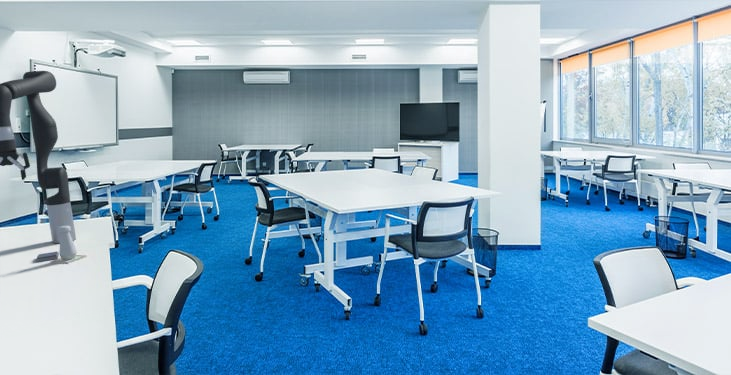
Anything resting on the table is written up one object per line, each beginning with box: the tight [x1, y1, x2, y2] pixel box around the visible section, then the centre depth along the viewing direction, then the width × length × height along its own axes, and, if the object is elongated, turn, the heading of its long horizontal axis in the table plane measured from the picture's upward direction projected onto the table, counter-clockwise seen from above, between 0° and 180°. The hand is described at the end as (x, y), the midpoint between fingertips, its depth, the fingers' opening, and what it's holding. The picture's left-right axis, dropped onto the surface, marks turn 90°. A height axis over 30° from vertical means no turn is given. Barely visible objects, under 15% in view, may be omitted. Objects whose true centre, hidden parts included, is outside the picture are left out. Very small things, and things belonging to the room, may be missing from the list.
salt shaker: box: [58, 226, 78, 260], centre depth 189 cm, size 6×6×13 cm
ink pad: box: [35, 251, 60, 263], centre depth 194 cm, size 7×7×2 cm
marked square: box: [50, 254, 87, 264], centre depth 191 cm, size 8×8×1 cm
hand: (10, 181), depth 190 cm, fingers open, 8 cm apart
